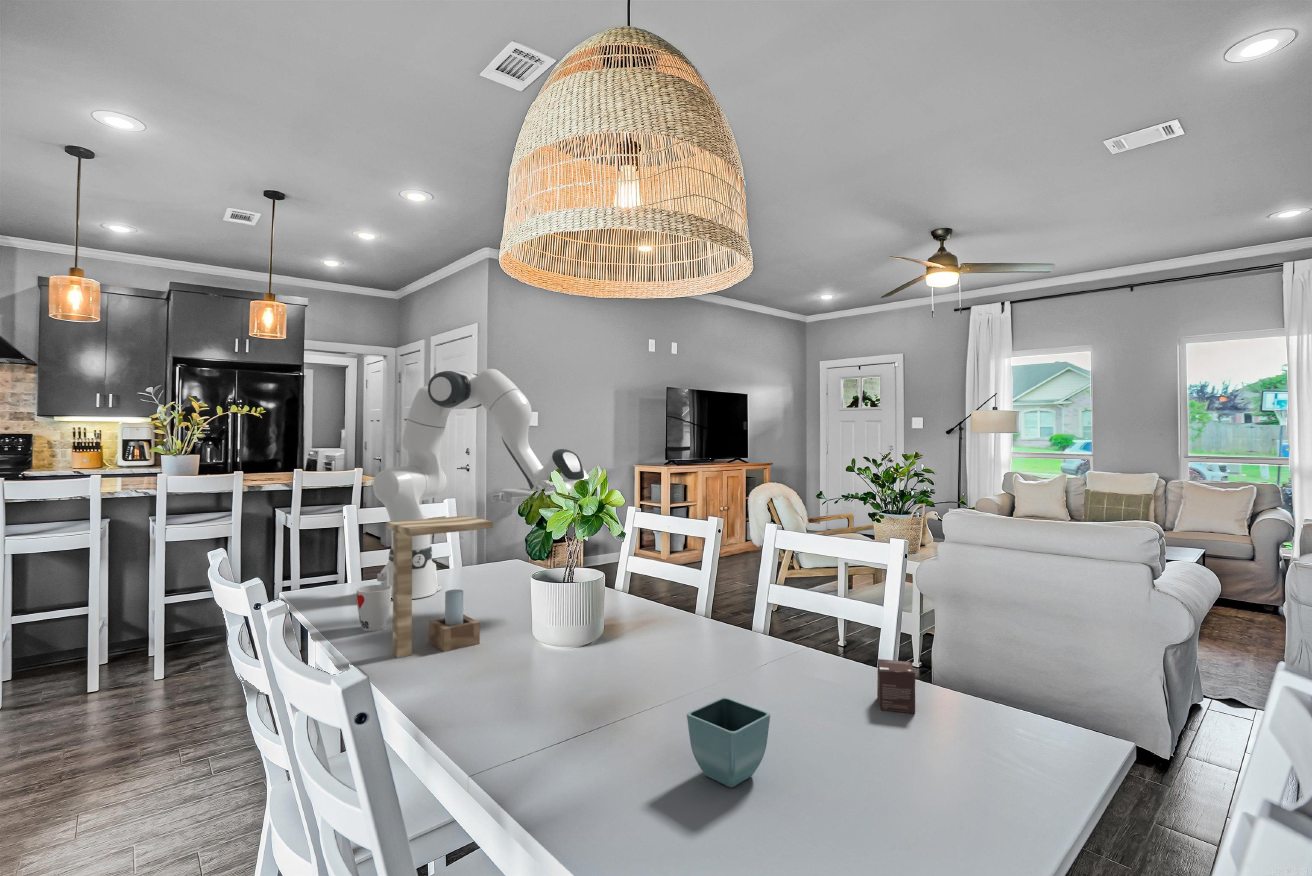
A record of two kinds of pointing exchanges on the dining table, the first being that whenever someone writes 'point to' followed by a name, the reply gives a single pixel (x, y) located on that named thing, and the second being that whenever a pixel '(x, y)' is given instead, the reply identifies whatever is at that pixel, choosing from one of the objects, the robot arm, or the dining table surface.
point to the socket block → (454, 634)
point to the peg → (453, 607)
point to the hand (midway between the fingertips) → (501, 499)
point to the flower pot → (728, 739)
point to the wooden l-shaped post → (404, 568)
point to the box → (896, 686)
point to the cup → (373, 606)
